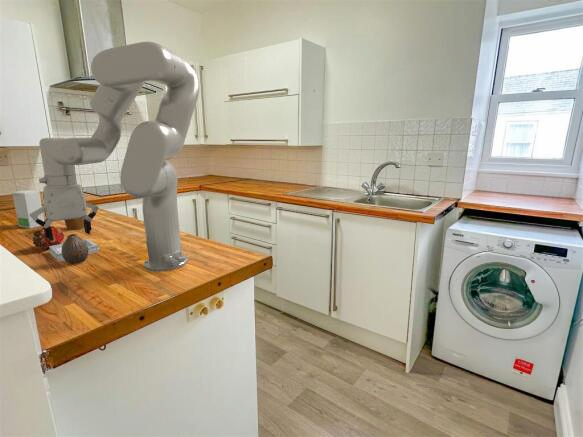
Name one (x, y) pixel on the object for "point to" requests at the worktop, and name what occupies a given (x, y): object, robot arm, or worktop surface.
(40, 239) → the dragon fruit
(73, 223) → the disposable coffee cup
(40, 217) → the skincare box
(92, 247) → the baseplate
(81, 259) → the vase
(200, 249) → the worktop surface
